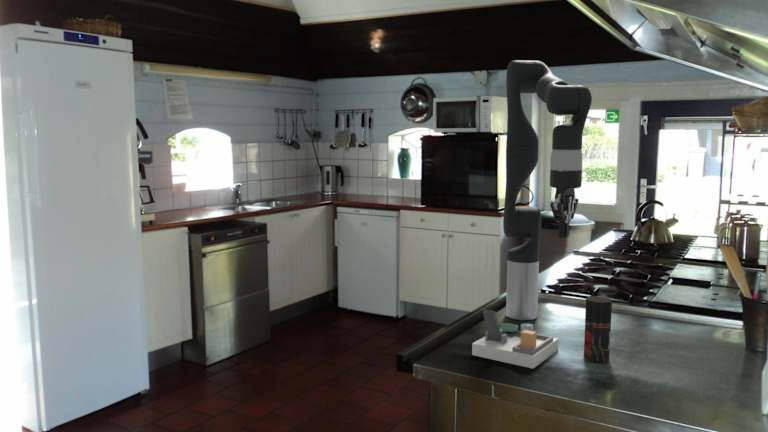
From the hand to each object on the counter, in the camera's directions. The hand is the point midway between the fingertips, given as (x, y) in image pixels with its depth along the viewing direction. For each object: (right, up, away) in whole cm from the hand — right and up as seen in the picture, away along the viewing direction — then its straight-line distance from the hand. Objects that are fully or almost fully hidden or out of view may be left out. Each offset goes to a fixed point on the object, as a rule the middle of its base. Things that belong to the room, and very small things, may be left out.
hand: (563, 237), depth 159 cm
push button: (-8, -25, +5) cm, 27 cm away
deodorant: (+7, -30, -4) cm, 31 cm away
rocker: (-12, -25, +7) cm, 29 cm away
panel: (-12, -29, +1) cm, 31 cm away
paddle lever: (-17, -26, +1) cm, 31 cm away
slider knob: (-10, -27, -6) cm, 29 cm away
